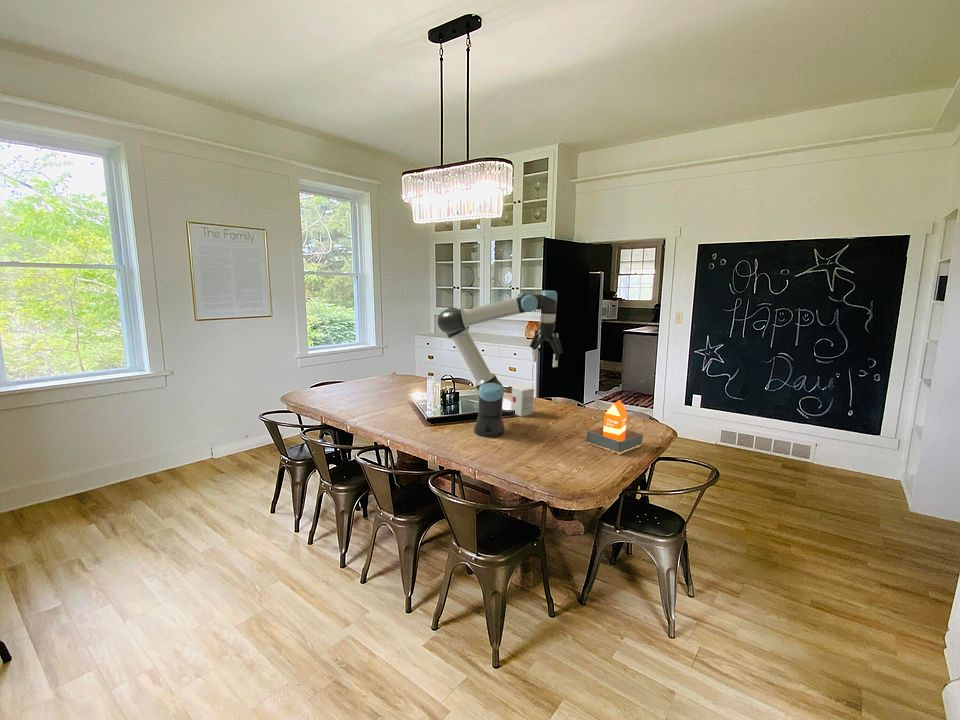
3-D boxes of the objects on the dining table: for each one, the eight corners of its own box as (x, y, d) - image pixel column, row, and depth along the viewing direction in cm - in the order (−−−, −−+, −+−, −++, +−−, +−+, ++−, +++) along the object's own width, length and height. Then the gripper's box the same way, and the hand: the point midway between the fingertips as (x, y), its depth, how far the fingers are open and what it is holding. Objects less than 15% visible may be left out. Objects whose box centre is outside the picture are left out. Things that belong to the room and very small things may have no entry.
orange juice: (624, 442, 212) (628, 400, 208) (618, 447, 205) (622, 405, 201) (608, 438, 216) (612, 397, 213) (601, 443, 209) (605, 401, 206)
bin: (619, 455, 199) (620, 442, 197) (586, 443, 212) (587, 430, 211) (641, 446, 210) (642, 434, 208) (609, 435, 223) (610, 424, 222)
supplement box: (510, 412, 255) (511, 386, 252) (522, 410, 260) (523, 384, 257) (521, 416, 248) (522, 390, 245) (533, 414, 253) (534, 388, 250)
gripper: (572, 324, 216) (569, 368, 220) (534, 319, 235) (532, 359, 239) (561, 325, 212) (558, 369, 216) (524, 319, 231) (522, 360, 235)
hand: (544, 364), depth 227 cm, fingers open, 13 cm apart
